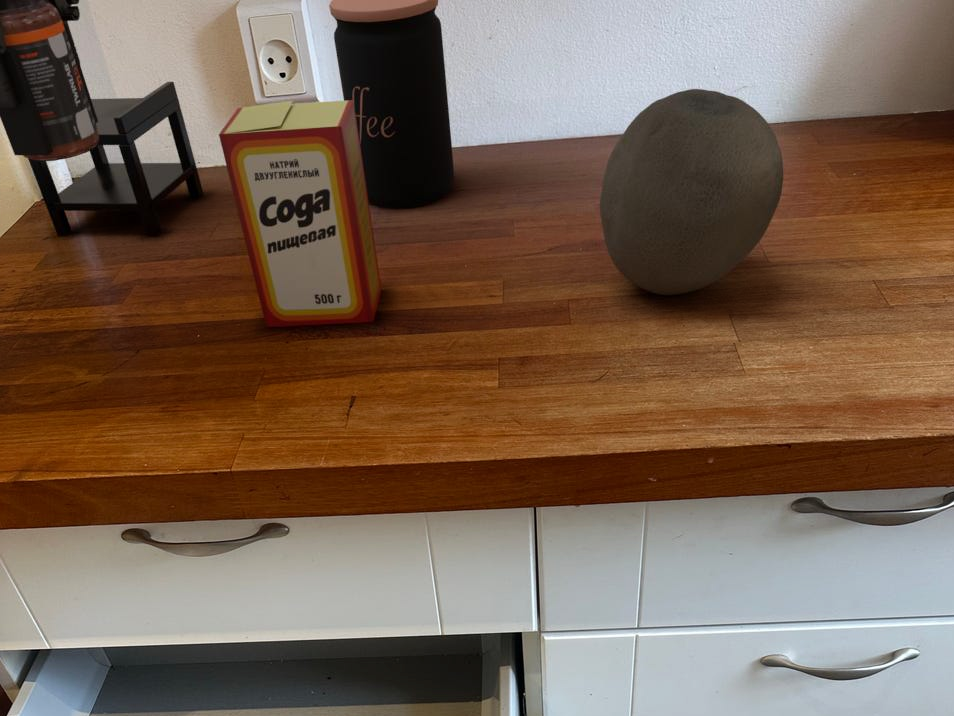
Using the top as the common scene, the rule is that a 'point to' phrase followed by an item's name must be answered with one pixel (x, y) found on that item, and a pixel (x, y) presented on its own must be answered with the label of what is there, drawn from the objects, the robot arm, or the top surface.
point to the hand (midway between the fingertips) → (57, 137)
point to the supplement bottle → (50, 76)
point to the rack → (125, 163)
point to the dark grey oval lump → (689, 190)
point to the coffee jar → (397, 97)
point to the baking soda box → (304, 211)
